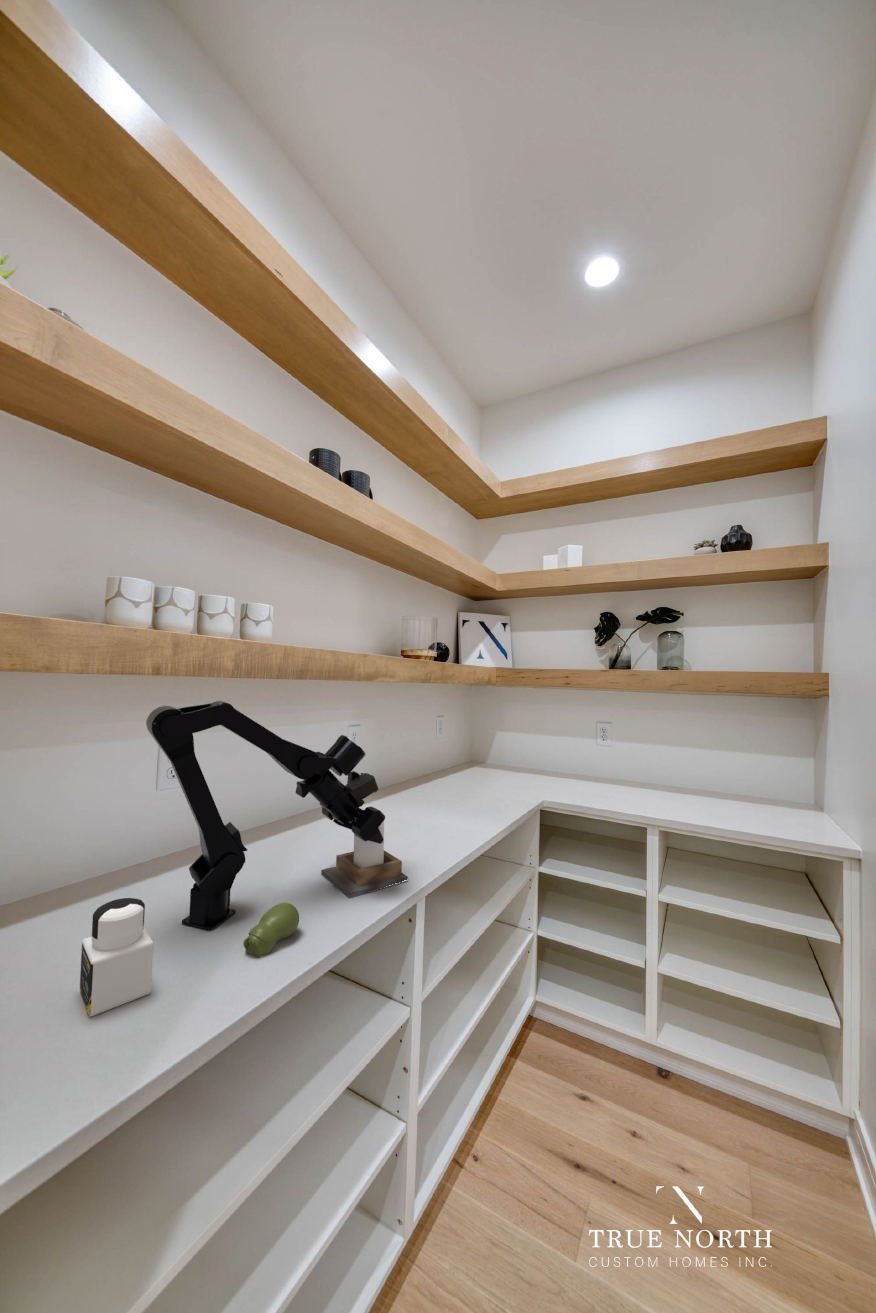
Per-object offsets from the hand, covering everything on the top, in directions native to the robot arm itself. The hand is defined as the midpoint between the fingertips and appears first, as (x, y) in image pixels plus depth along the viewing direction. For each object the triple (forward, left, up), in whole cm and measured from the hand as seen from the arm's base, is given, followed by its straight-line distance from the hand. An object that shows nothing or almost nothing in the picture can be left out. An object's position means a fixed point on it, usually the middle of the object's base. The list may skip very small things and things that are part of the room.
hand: (374, 837), depth 107 cm
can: (-1, 0, -7) cm, 7 cm away
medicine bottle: (-47, +18, -9) cm, 51 cm away
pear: (-29, +5, -9) cm, 31 cm away
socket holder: (-1, +1, -8) cm, 8 cm away
